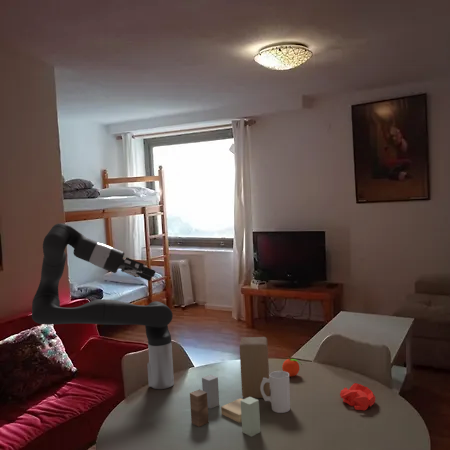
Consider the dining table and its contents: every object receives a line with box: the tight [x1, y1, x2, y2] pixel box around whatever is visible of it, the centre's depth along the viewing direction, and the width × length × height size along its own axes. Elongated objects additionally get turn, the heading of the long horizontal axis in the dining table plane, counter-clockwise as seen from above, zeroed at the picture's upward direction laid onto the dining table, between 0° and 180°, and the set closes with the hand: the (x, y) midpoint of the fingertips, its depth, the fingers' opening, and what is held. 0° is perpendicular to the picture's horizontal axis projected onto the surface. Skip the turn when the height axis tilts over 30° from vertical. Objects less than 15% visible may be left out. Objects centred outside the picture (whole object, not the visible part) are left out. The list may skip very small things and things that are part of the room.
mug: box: [260, 370, 291, 414], centre depth 155 cm, size 10×7×12 cm, turn 82°
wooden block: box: [239, 336, 271, 399], centre depth 168 cm, size 10×10×20 cm
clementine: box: [281, 358, 303, 378], centre depth 183 cm, size 8×7×7 cm
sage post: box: [241, 397, 261, 437], centre depth 140 cm, size 4×4×10 cm
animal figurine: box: [339, 382, 377, 411], centre depth 158 cm, size 12×15×5 cm
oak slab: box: [220, 397, 244, 423], centre depth 153 cm, size 9×9×3 cm
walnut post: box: [189, 388, 210, 428], centre depth 148 cm, size 4×4×10 cm
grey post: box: [201, 374, 220, 410], centre depth 161 cm, size 4×4×10 cm
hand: (152, 276), depth 151 cm, fingers open, 8 cm apart
